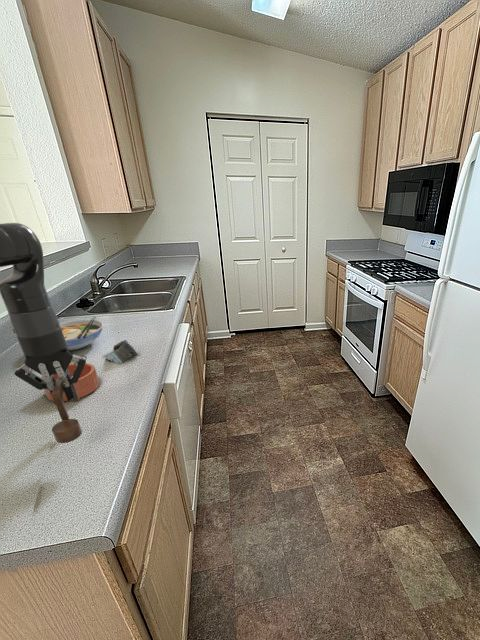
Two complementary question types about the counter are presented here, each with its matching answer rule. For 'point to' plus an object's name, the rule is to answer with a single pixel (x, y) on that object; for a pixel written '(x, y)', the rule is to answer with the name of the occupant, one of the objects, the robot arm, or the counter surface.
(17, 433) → the counter surface
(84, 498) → the counter surface
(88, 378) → the bowl
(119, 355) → the grey angular wedge
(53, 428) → the brown bent ladle
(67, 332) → the ramen bowl
